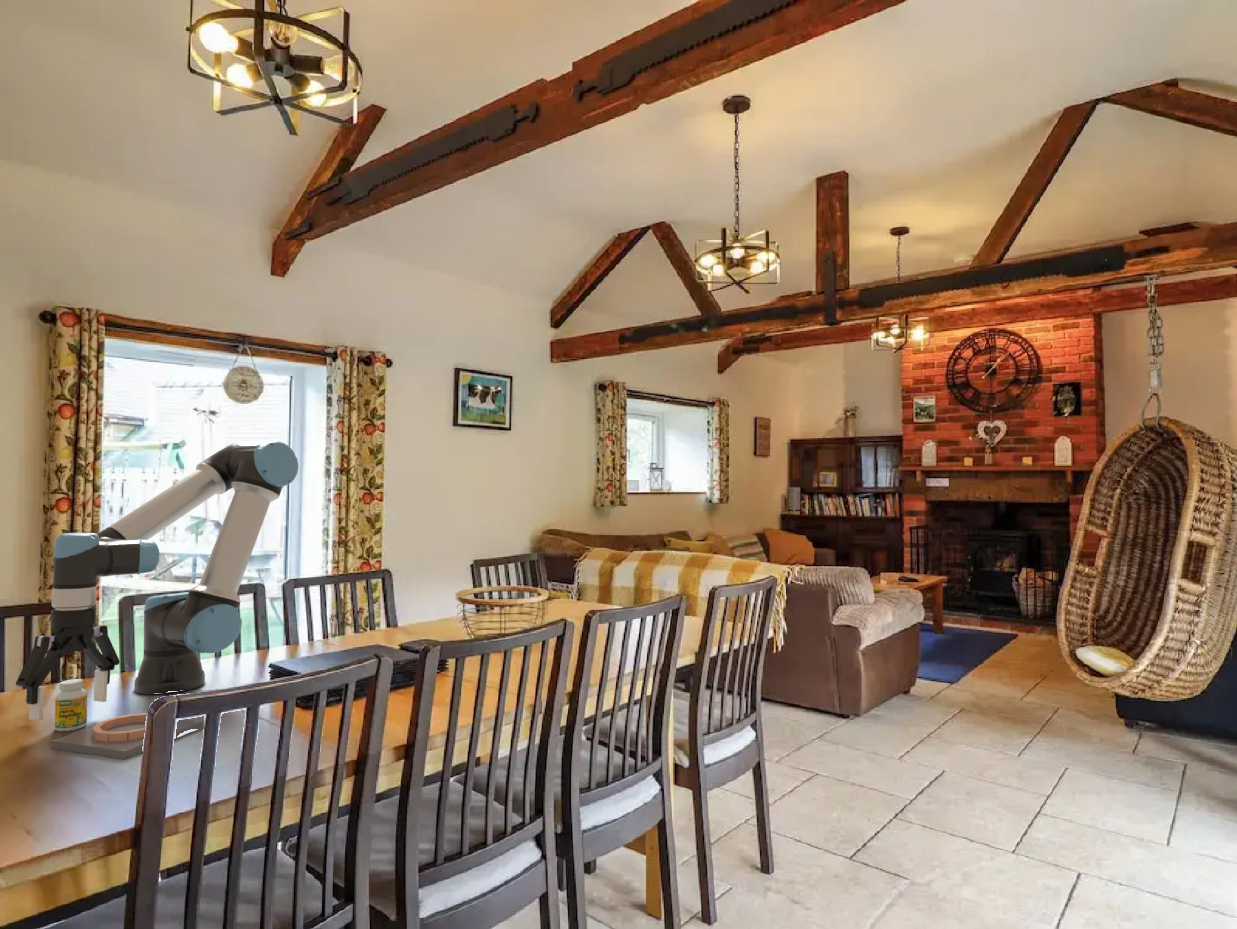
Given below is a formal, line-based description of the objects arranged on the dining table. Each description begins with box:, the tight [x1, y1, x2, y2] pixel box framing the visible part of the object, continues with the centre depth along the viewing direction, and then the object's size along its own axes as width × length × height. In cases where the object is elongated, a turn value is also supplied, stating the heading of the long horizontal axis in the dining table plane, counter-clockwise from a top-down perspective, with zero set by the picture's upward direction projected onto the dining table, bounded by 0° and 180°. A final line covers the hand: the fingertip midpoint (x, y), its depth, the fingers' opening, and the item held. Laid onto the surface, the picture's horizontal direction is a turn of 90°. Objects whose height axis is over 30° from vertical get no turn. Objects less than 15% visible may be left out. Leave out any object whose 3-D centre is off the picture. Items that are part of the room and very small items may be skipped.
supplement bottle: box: [54, 678, 88, 732], centre depth 155 cm, size 5×5×10 cm
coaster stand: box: [51, 712, 204, 760], centre depth 150 cm, size 18×18×3 cm
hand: (69, 710), depth 155 cm, fingers open, 13 cm apart
